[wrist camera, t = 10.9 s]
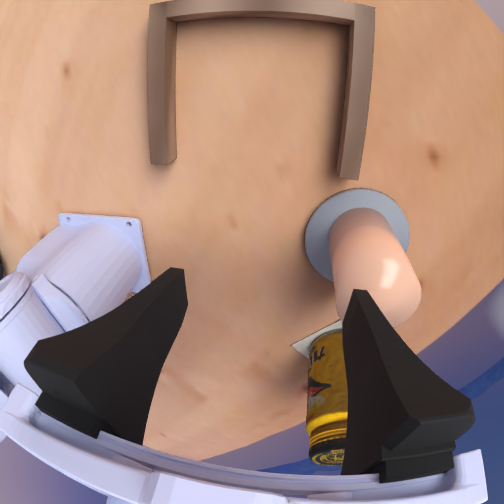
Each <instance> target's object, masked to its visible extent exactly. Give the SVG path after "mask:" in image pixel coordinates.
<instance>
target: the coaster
mask: <svg viewBox="0 0 504 504" xmlns="http://www.w3.org/2000/svg"><path fill="white" fill-rule="evenodd" d="M360 207H365V208H371V209H374V210H376V211H378V212H380V213H381V214H382V215H384V216H385V218H386V219H387V220H388V222H389V224H390V226H391V228H392V229H393V231H394V233H395V235H396V237H397V239H398V241H399V243H400V244H401V246H402V248H403V250H404V252H405V253H406V251H407V248H408V244H409V226H408V222H407V219H406V217H405V215H404V213H403V212H402V210H401V209H400V207H399V206H398V205H397V203H396V202H395V201H394V200H393V199H391V198H390V197H389V196H387V195H385V194H383V193H381V192H379V191H376V190H372V189H367V188H353V189H348V190H344V191H341V192H338V193H336V194H334V195H332V196H331V197H329V198H327V199H326V200H325V201H324V202H322V203H321V204H320V205H319V206H318V207H317V208H316V210H315V211H314V213H313V214H312V216H311V218H310V219H309V222H308V225H307V228H306V232H305V248H306V253H307V256H308V259H309V261H310V263H311V265H312V266H313V268H314V269H315V270H316V271H317V272H318V273H319V274H320V275H321V276H323V277H324V278H326V279H327V280H329V281H331V282H334V280H333V272H332V265H331V258H330V251H329V244H328V234H329V230H330V228H331V226H332V224H333V222H334V221H335V220H336V219H337V218H338V217H339V216H340V215H341V214H343V213H344V212H346V211H348V210H351V209H354V208H360Z"/></svg>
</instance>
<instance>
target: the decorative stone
mask: <svg viewBox="0 0 504 504" xmlns="http://www.w3.org/2000/svg"><path fill="white" fill-rule="evenodd" d="M2 279H3V269H2V265H1V261H0V280H2Z"/></svg>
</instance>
